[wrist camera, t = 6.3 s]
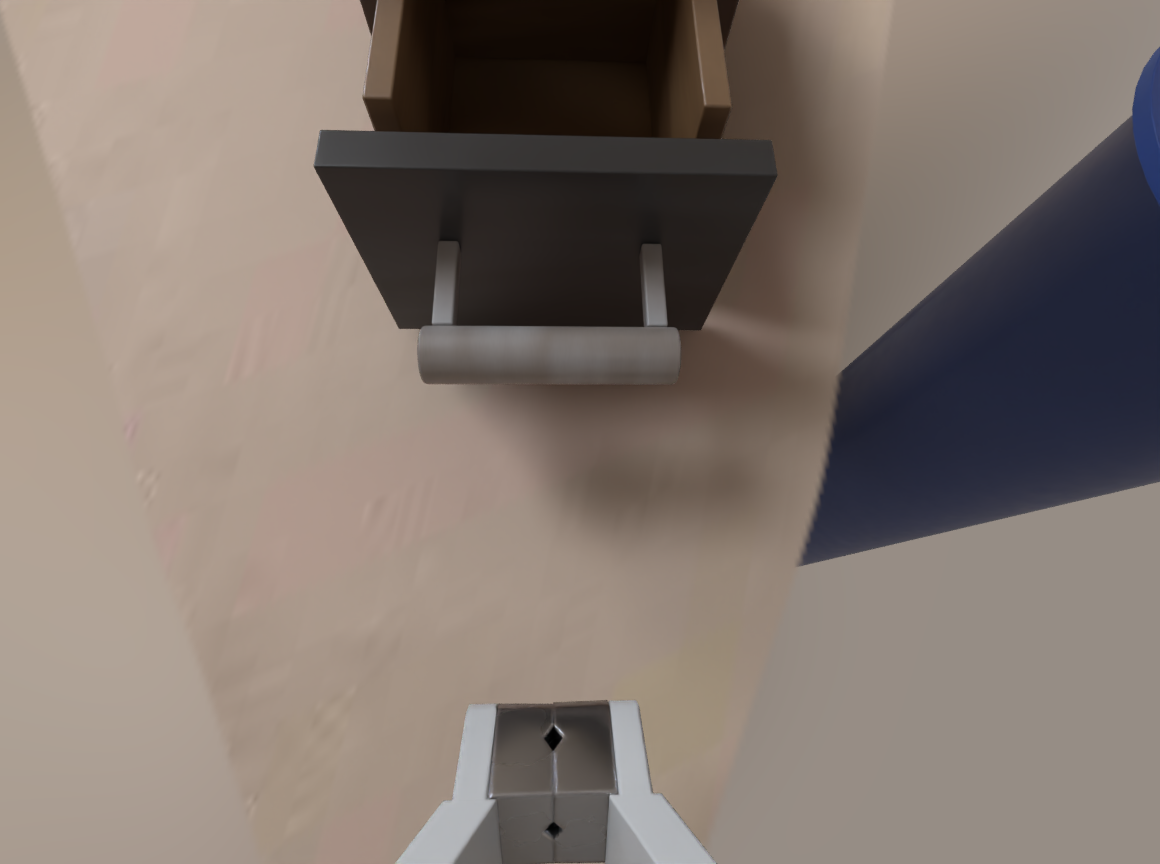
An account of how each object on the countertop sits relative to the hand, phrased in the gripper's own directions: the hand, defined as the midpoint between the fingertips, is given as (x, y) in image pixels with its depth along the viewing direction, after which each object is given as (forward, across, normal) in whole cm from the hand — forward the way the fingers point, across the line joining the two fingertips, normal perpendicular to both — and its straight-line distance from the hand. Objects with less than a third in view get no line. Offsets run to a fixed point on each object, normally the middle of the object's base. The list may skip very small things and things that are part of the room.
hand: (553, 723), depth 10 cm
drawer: (+17, 0, -7) cm, 19 cm away
